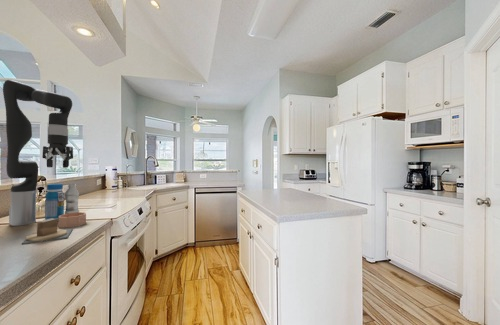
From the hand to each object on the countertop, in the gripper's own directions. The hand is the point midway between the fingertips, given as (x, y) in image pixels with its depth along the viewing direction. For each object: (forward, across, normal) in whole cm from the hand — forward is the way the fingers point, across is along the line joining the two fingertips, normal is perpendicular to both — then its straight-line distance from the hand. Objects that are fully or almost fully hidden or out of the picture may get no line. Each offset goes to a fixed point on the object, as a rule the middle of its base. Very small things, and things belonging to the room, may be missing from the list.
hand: (57, 167), depth 107 cm
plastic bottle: (+30, -10, +18) cm, 37 cm away
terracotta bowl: (+30, +1, +8) cm, 31 cm away
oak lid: (+30, +8, -12) cm, 33 cm away
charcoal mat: (+30, +8, -10) cm, 33 cm away
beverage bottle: (+30, -19, +16) cm, 39 cm away
